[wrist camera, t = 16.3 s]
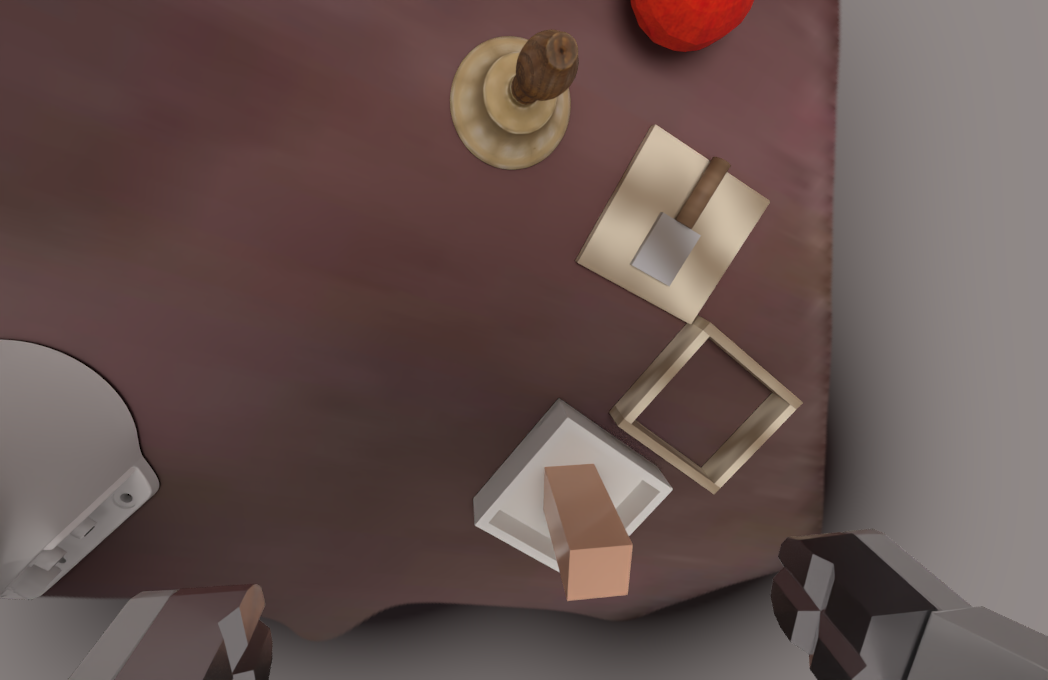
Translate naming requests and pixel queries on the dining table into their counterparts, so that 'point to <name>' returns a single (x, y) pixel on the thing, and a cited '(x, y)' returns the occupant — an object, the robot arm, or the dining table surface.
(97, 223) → the dining table surface
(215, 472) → the dining table surface
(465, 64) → the hand bell
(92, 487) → the robot arm
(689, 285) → the lid with scoop
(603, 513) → the terracotta brick
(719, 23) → the apple
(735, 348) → the birch bin
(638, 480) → the white square tray
